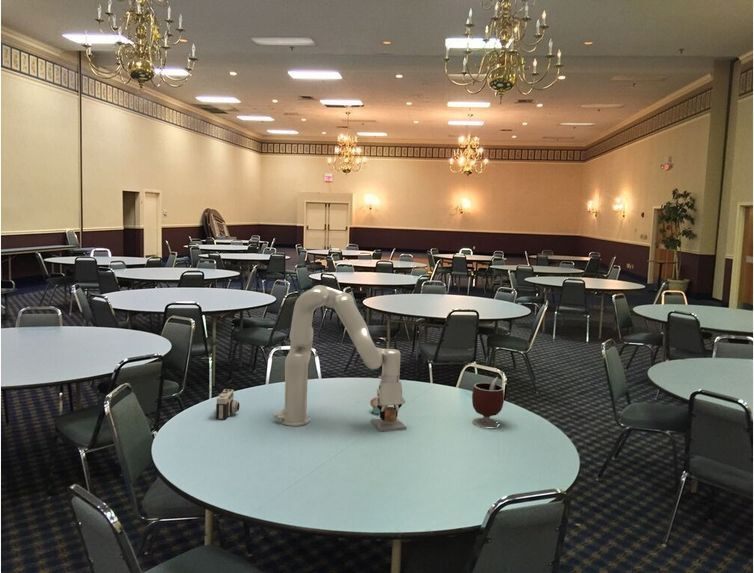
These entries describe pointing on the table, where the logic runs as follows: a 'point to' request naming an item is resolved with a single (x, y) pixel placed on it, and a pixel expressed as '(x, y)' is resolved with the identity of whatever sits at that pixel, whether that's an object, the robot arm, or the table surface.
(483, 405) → the mate gourd
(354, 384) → the table surface
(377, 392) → the cupcake
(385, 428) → the slate coaster
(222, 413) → the camera
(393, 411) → the walnut cube
